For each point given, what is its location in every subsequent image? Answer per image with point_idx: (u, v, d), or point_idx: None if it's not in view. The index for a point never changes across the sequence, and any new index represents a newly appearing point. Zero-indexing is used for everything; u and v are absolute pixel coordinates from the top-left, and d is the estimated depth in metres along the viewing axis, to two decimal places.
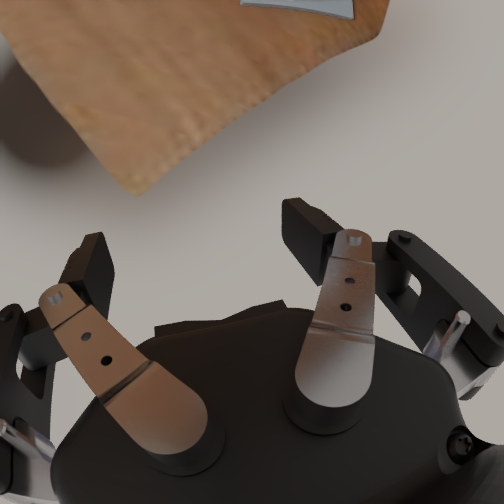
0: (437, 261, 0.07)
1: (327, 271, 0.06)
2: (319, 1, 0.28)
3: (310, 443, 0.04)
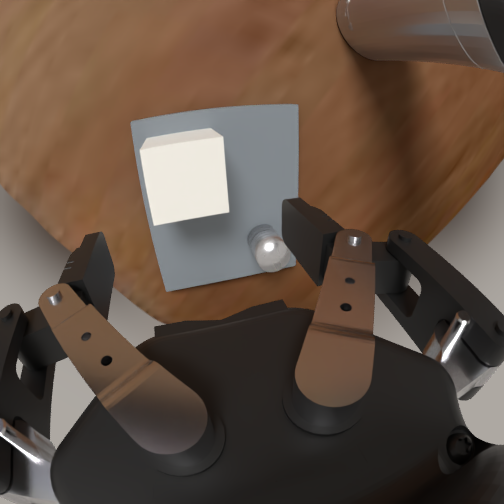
0: (437, 261, 0.07)
1: (327, 271, 0.06)
2: (171, 239, 0.27)
3: (310, 443, 0.04)
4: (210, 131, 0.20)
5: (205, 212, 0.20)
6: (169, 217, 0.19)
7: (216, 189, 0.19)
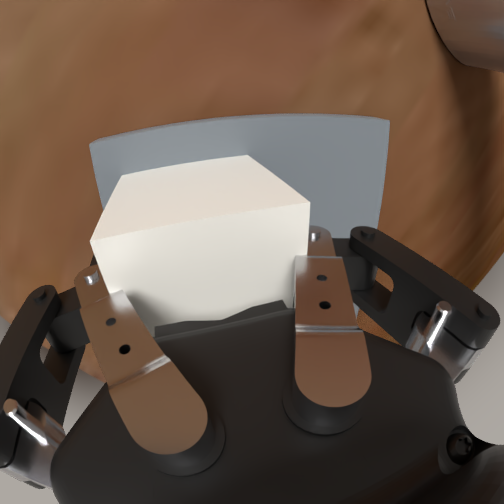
0: (406, 253, 0.08)
1: (297, 271, 0.06)
2: None
3: (324, 445, 0.04)
4: (255, 168, 0.10)
5: None
6: None
7: None
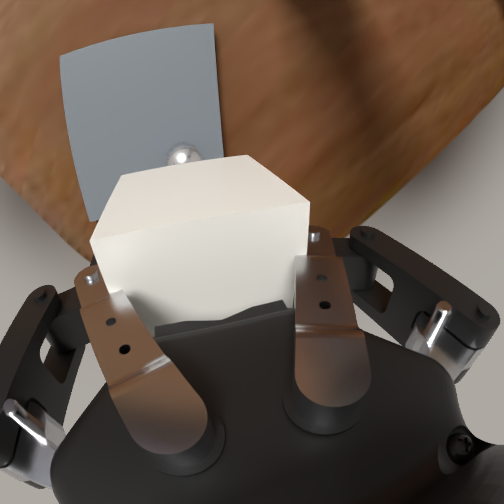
0: (405, 253, 0.08)
1: (297, 271, 0.06)
2: (91, 161, 0.23)
3: (324, 445, 0.04)
4: (255, 168, 0.10)
5: None
6: None
7: None
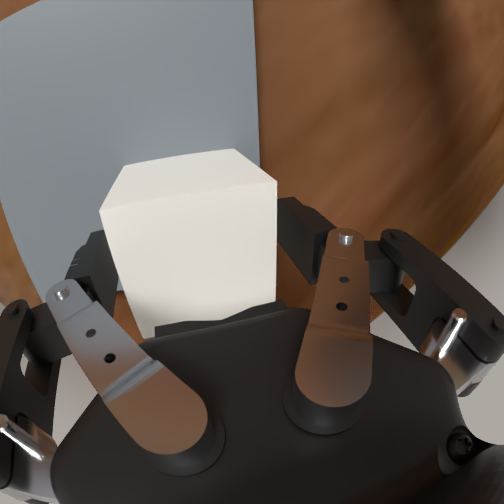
0: (431, 259, 0.07)
1: (321, 271, 0.06)
2: (29, 212, 0.12)
3: (313, 443, 0.04)
4: (238, 158, 0.12)
5: None
6: None
7: (256, 280, 0.11)
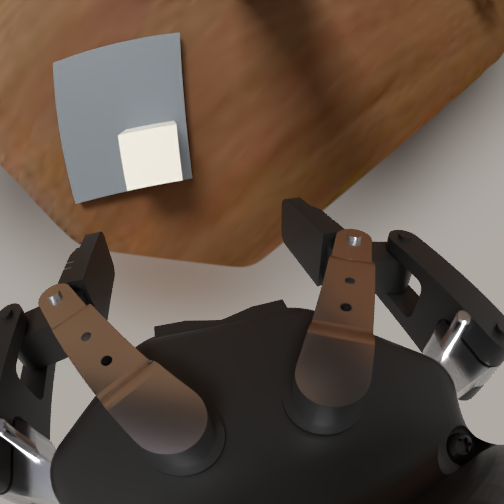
0: (437, 261, 0.07)
1: (327, 271, 0.06)
2: (77, 151, 0.26)
3: (310, 443, 0.04)
4: (171, 122, 0.26)
5: (164, 180, 0.26)
6: (138, 184, 0.25)
7: (172, 163, 0.25)
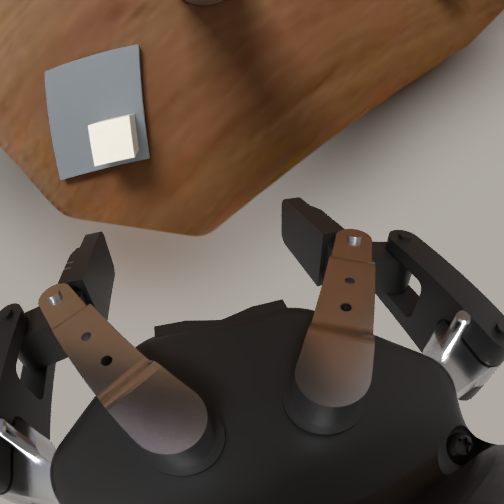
0: (437, 261, 0.07)
1: (327, 271, 0.06)
2: (62, 139, 0.32)
3: (310, 443, 0.04)
4: (130, 114, 0.32)
5: (121, 158, 0.32)
6: (102, 161, 0.31)
7: (126, 144, 0.31)
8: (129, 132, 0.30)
